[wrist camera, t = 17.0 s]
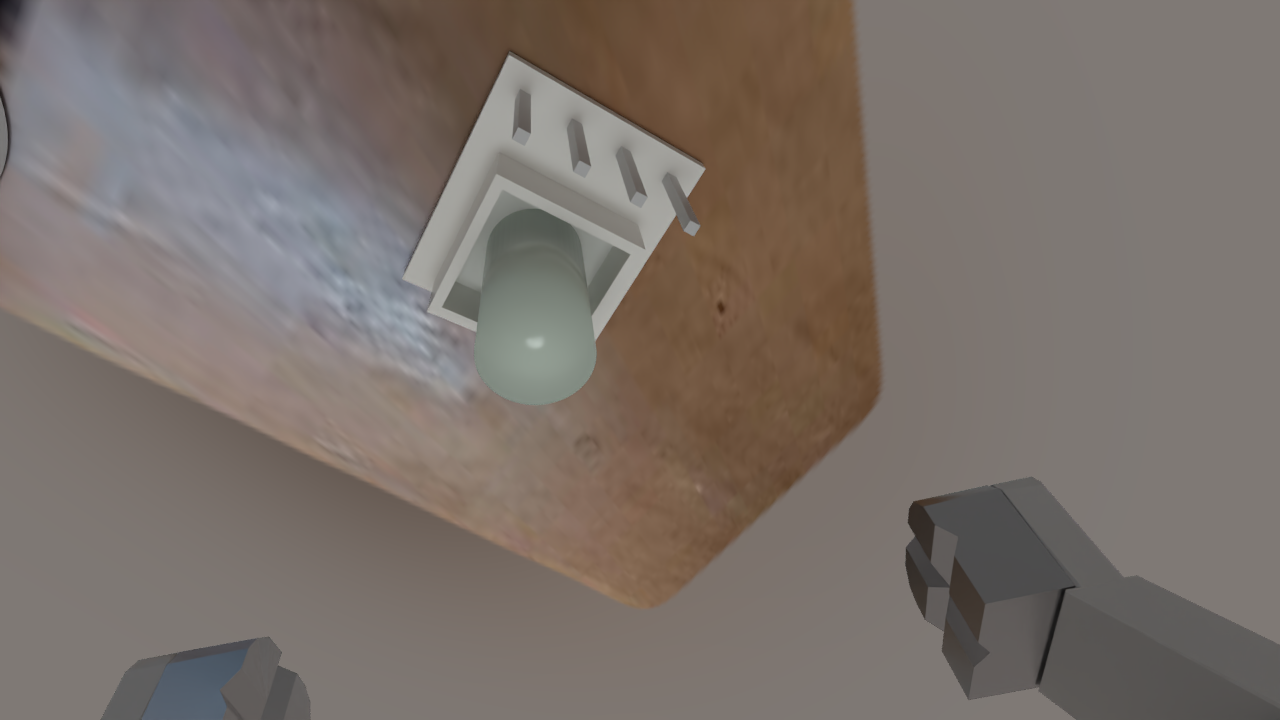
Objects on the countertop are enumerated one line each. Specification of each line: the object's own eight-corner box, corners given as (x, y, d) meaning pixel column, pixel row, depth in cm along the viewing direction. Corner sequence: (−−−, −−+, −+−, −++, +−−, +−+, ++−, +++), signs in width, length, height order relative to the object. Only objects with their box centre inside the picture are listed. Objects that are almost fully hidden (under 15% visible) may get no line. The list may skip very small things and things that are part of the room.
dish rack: (583, 349, 47) (592, 425, 41) (404, 271, 43) (381, 342, 36) (702, 163, 42) (734, 216, 35) (509, 50, 37) (505, 87, 31)
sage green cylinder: (500, 303, 44) (492, 414, 35) (474, 218, 41) (458, 316, 32) (590, 286, 44) (606, 392, 35) (571, 200, 41) (583, 291, 32)
